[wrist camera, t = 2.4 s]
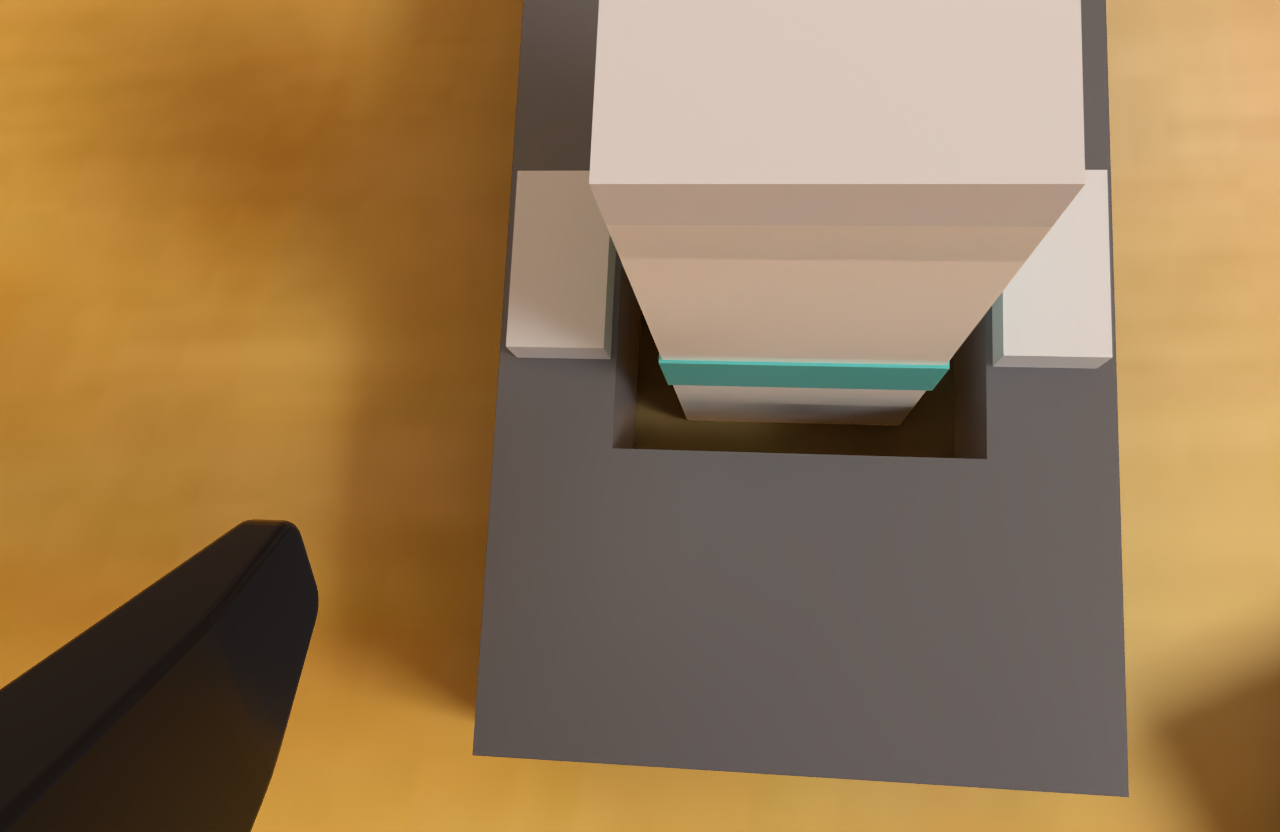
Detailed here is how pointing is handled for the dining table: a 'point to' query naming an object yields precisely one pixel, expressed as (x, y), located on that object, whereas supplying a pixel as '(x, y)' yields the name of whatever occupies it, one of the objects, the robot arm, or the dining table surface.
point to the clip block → (799, 519)
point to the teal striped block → (829, 187)
